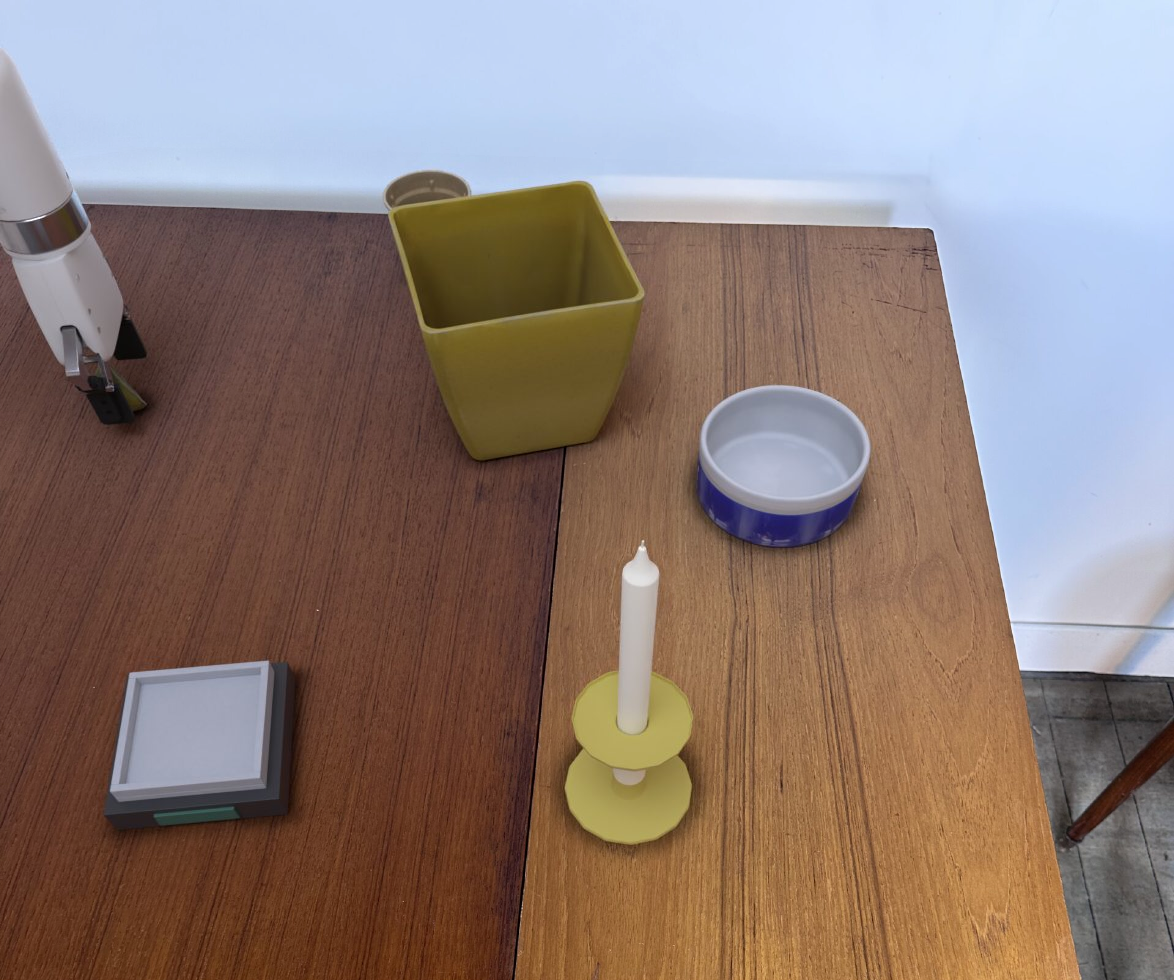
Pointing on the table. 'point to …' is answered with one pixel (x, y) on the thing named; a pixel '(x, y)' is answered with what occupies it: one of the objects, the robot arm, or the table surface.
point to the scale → (202, 745)
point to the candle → (631, 731)
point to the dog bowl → (781, 465)
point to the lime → (125, 390)
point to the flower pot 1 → (424, 188)
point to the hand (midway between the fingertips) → (126, 388)
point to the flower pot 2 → (521, 312)
